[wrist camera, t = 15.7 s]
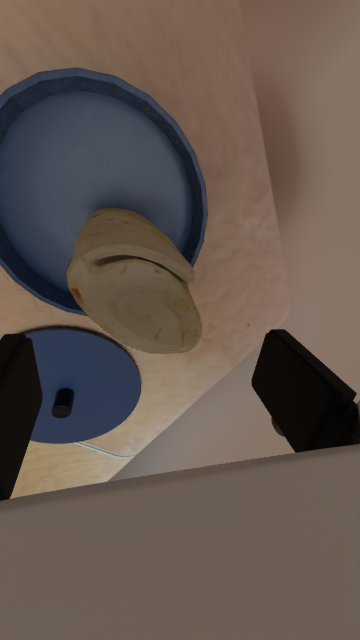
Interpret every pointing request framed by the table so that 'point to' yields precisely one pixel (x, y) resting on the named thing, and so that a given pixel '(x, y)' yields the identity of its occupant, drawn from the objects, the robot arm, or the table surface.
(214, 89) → the table surface
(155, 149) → the pot
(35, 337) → the pot lid
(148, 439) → the table surface
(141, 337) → the food model
